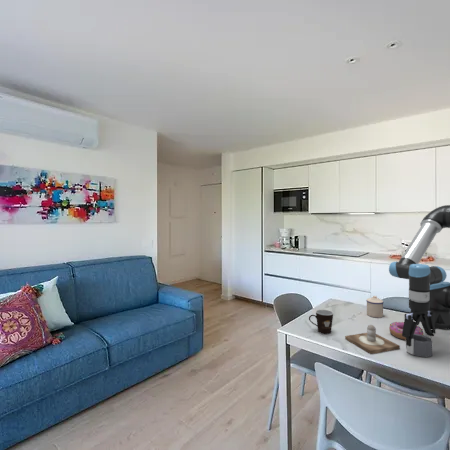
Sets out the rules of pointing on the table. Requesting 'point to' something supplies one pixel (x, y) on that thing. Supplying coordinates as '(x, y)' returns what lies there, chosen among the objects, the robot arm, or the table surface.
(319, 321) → the coffee mug
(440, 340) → the table surface
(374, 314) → the teacup with lid
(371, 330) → the post stand
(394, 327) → the donut
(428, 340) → the ring
